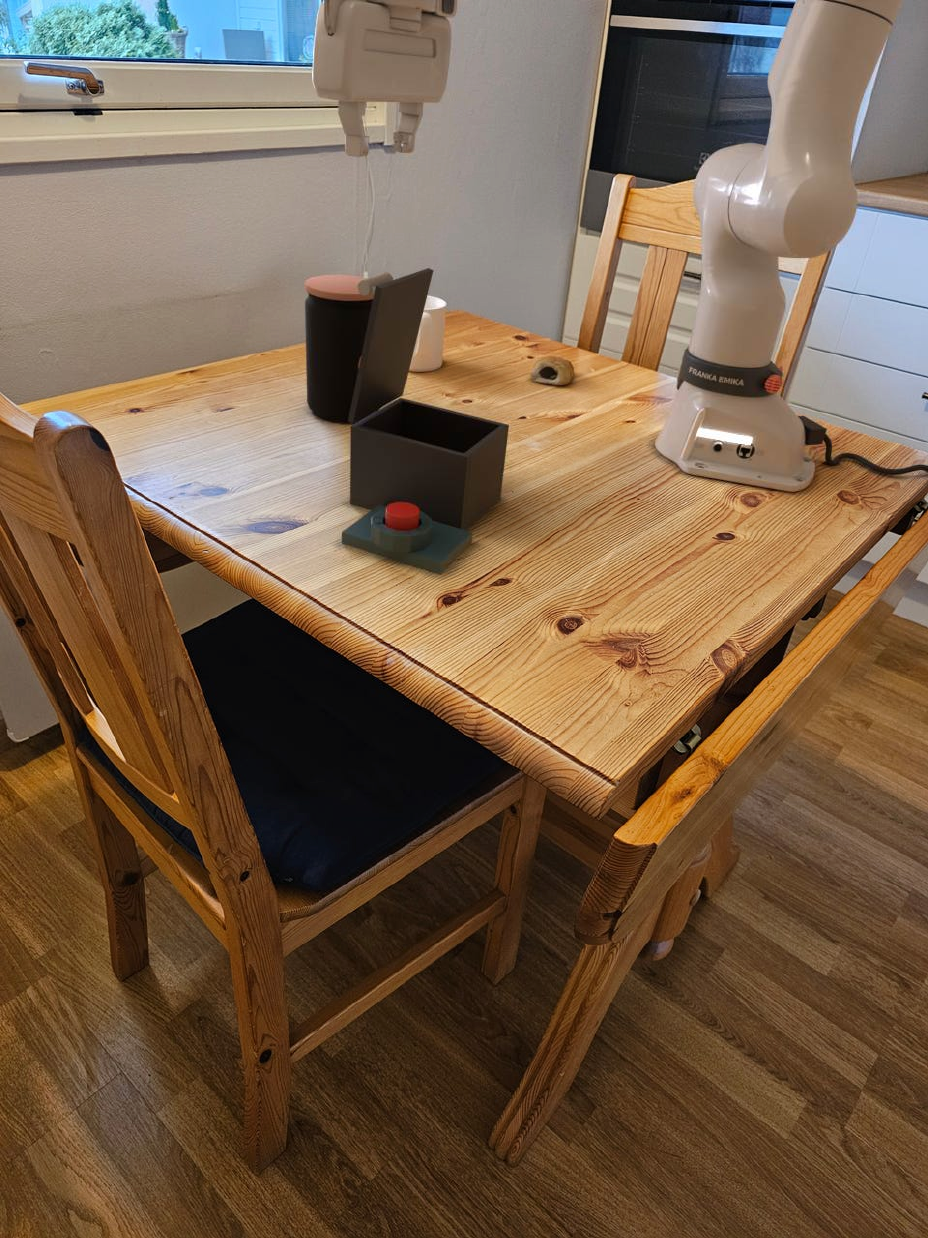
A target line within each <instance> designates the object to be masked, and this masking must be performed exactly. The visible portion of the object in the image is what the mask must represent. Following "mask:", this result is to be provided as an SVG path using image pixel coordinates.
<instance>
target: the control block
mask: <svg viewBox="0 0 928 1238" xmlns="http://www.w3.org/2000/svg"><path fill="white" fill-rule="evenodd" d="M385 514H386V507H385V506H382V505H378V506H376V507H375V508H374V509H372V510H369V511H368V512H367V513H365V514H364V515H362V517H360V518H358V519H357V520H356V521H355V522H354V523H352V524H351V525H349V526H348V527H346V528H345V529H343V530H342V531H341V544H342V545H346V546H349V547H352V548H355V549H357V550H362V551H365V552H368V553H371V554H374V555H378V556H380V557H383V558H387V559H390V560H392V561H395V562H399V563H402V564H406V565H407V566H408V565H409V566H412V567H414V568H418V569H421V570H424V571H428V572H431V573H433V574H437V575H441V574H442V573H443V572H444V571H445V570H446V569H448V567H449V566H450V565H451V564H452V563H454V561H455V560H456V559H458V557H459V556H460V555H461V554H463V552H465V550H466V549H467V548H469V546H471V545H472V541H473V532H472V531H468V530H467V531H466V530H462V529H459V528H456V527H452V526H449V525H445V524H442V523H439V522H435V521H432V519H431V518H430V517H429V516H428V515H426V514H425V513H424V512H421V511H420V512H419V526H418V528H417V529H413V530H409V531H401V530H394V529H391V528H388V527H387V526H386V524H385Z"/></svg>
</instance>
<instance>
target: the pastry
mask: <svg viewBox="0 0 928 1238" xmlns="http://www.w3.org/2000/svg"><path fill="white" fill-rule="evenodd" d="M574 374H575V367H574V365H573V363H572V361H570V360H568V359H565V358H564V357H563V358H562V357H561V356H550V355H548V356H543V357H541V358H540V359H538V360H537V361H535V363H534V364H533V367H532V370H531V372H530V377H531V379H532V381H533V382H535V383H538V384H542V385H543V384H545V385H547V384H550V385H554V386H565V385H567V384H569V383H570V382H572V379H573V377H574Z"/></svg>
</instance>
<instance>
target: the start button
mask: <svg viewBox="0 0 928 1238" xmlns="http://www.w3.org/2000/svg"><path fill="white" fill-rule="evenodd" d="M419 512H420V510H419V508H418V507H417V506H416V505H414V504H411V503H406V502H396V503H392V504H389V505H388V506H387V507H386V514H385V524H386V526H387V527H388V528H391V529H394V530H401V531H409V530H413V529H417V528H418V526H419Z"/></svg>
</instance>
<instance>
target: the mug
mask: <svg viewBox="0 0 928 1238" xmlns="http://www.w3.org/2000/svg"><path fill="white" fill-rule="evenodd" d="M446 314H447V302H446V301H445V300H443V299H441V298H439V297H436V296H433V295H429V294H428V295H427V299H426V303H425V307H424V311H423V315H422V319H421V324H420V328H419V332H418V336H417V340H416V344H415V348H414V352H413V356H412V360H411V364H410V368H409V372H411V373H424V372H432V371H435V370H438V369H439V368H441V367H442V365H443V357H444V343H445V328H446V317H447V316H446Z"/></svg>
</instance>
